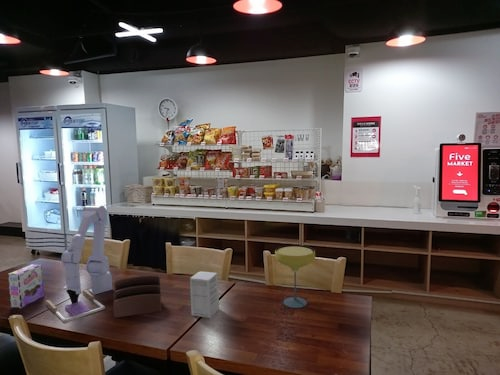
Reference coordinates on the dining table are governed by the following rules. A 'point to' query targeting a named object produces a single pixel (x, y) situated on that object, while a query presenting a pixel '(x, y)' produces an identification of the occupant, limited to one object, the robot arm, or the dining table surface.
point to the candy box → (25, 285)
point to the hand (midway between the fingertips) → (74, 304)
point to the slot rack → (56, 307)
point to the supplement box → (204, 294)
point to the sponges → (76, 308)
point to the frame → (82, 313)
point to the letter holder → (137, 296)
